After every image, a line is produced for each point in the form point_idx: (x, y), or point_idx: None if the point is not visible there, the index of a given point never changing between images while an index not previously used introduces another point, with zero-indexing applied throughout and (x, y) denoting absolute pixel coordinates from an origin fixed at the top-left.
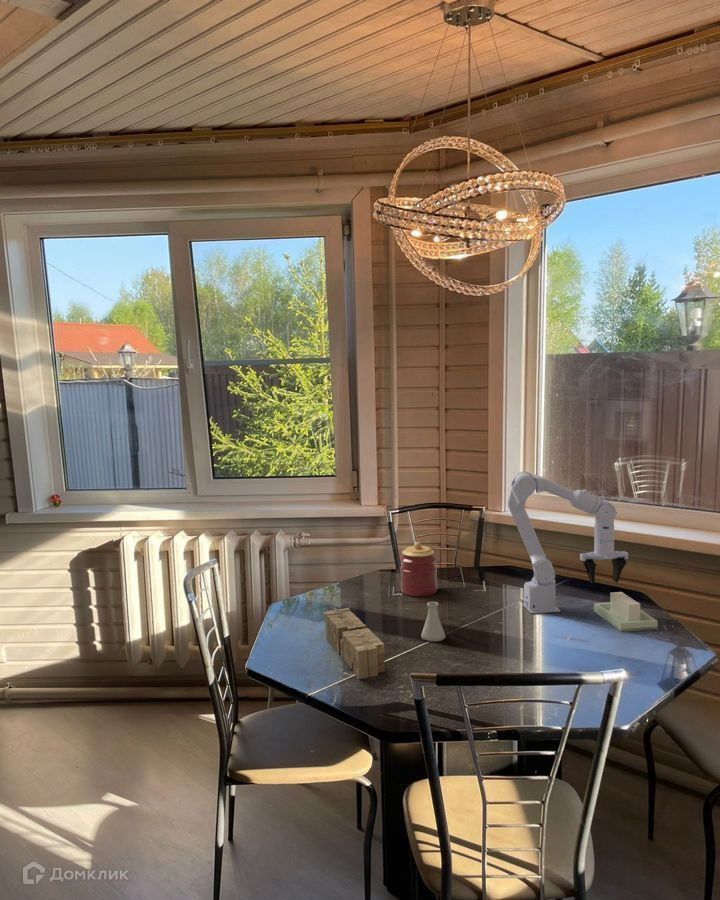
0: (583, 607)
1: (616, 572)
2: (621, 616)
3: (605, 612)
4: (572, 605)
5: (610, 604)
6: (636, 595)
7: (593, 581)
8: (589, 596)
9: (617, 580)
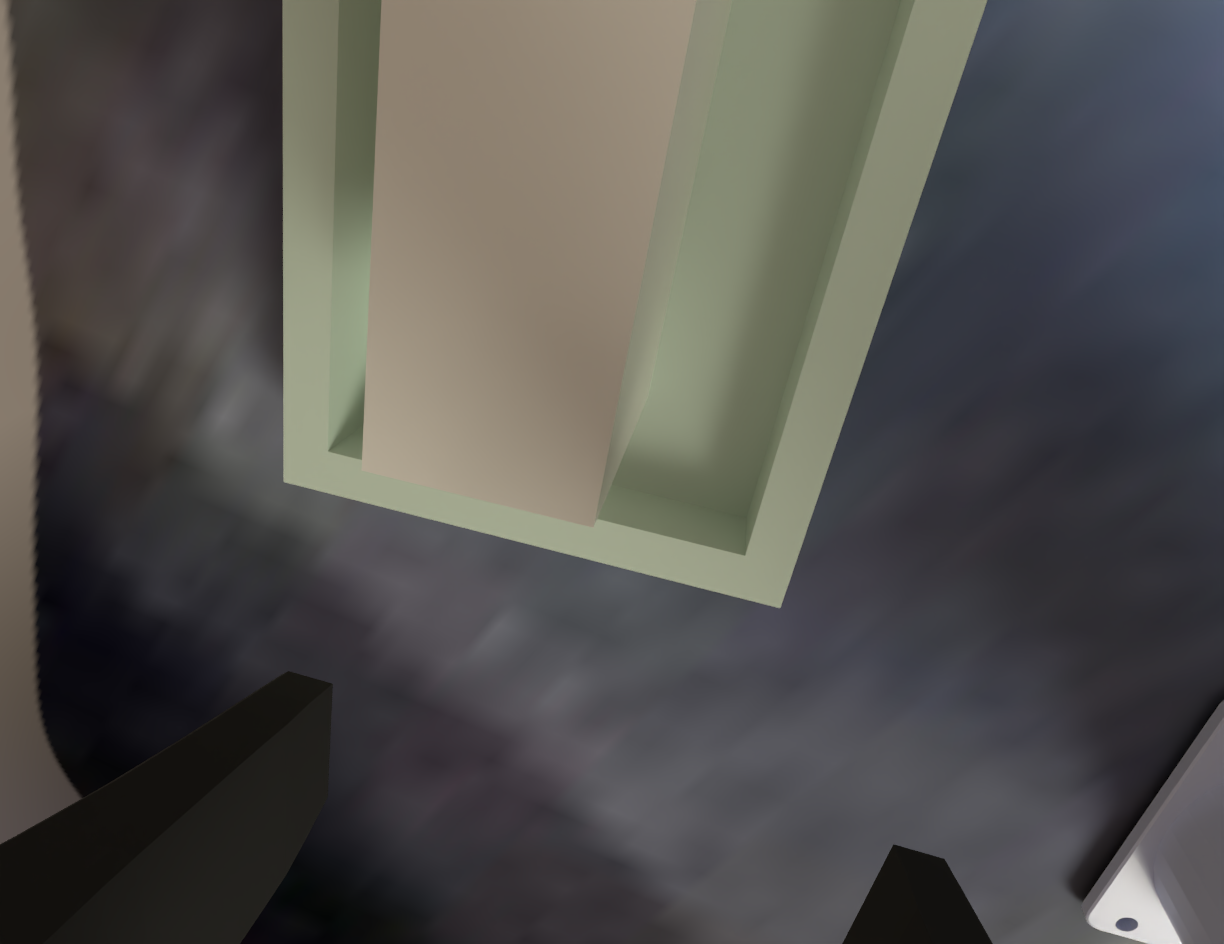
0: (807, 684)
1: (135, 923)
2: (723, 21)
3: (907, 228)
4: (879, 777)
5: (631, 432)
6: (65, 698)
7: (941, 898)
8: (518, 866)
9: (276, 700)
